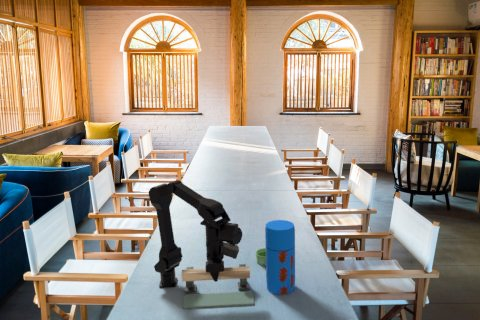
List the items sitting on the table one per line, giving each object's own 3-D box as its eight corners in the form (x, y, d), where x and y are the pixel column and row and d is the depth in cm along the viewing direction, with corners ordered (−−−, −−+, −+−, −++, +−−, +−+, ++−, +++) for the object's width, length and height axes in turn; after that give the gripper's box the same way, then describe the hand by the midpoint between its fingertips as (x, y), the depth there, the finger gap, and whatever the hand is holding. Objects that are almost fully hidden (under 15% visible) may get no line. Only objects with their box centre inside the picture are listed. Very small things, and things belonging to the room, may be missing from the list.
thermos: (266, 280, 176) (264, 220, 171) (293, 280, 176) (293, 219, 170) (266, 295, 165) (265, 230, 160) (296, 294, 165) (295, 230, 160)
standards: (185, 286, 174) (184, 267, 172) (248, 283, 175) (247, 263, 173) (184, 295, 167) (183, 275, 165) (249, 292, 168) (248, 272, 166)
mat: (184, 296, 166) (184, 294, 166) (252, 292, 167) (252, 291, 167) (182, 308, 158) (182, 307, 158) (254, 304, 159) (254, 303, 159)
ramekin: (272, 256, 198) (271, 246, 198) (280, 264, 190) (280, 254, 189) (252, 259, 196) (252, 249, 195) (260, 268, 187) (260, 258, 186)
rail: (182, 277, 162) (182, 269, 161) (249, 274, 163) (249, 266, 162) (181, 281, 159) (181, 273, 158) (249, 278, 160) (249, 270, 159)
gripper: (238, 247, 149) (239, 291, 152) (236, 227, 167) (237, 266, 170) (204, 249, 148) (206, 292, 152) (205, 228, 167) (207, 267, 170)
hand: (215, 279), depth 161 cm, fingers closed on rail, 3 cm apart
